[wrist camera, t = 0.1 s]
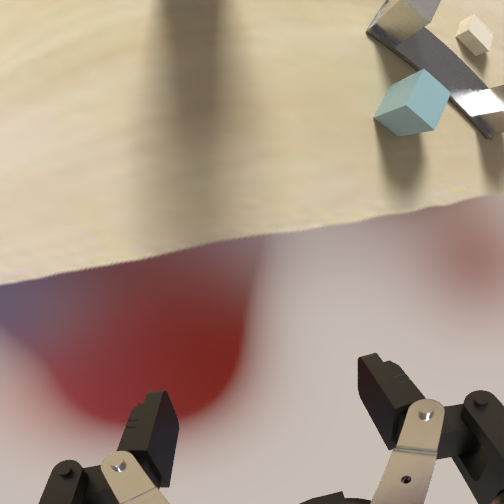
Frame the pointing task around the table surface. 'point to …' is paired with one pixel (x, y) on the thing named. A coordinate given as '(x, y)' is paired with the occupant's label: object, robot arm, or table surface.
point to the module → (413, 104)
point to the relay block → (475, 35)
